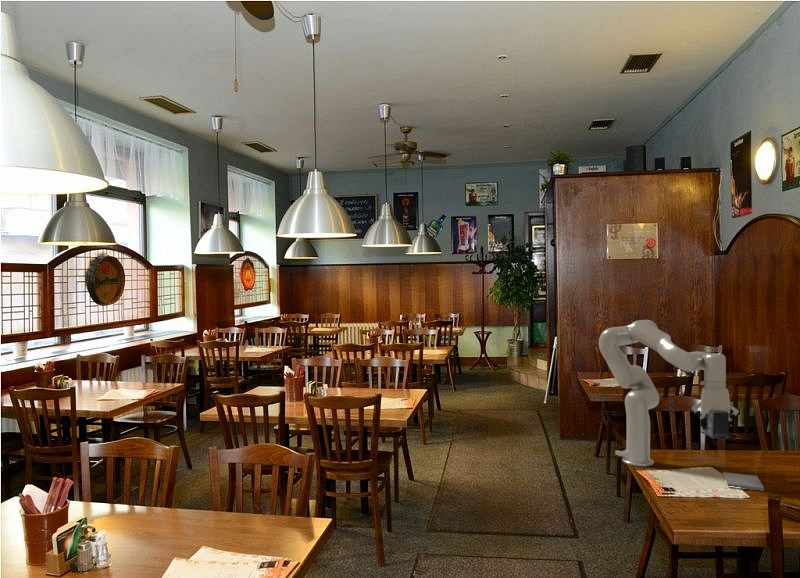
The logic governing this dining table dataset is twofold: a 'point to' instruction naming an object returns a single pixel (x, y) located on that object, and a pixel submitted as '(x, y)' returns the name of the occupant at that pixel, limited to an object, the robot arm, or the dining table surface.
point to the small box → (716, 425)
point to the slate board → (743, 481)
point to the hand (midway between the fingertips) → (715, 429)
